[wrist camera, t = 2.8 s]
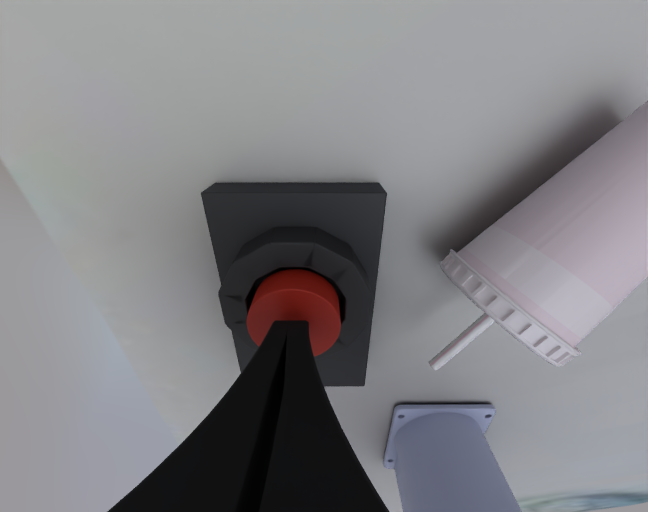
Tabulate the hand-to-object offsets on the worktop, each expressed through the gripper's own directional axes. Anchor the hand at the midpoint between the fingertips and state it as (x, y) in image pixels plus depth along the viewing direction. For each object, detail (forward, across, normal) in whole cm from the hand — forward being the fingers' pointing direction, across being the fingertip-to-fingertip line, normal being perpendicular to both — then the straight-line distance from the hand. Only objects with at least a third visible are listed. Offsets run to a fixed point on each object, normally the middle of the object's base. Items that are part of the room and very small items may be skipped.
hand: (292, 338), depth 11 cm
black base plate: (+5, 0, +2) cm, 6 cm away
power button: (+2, 0, 0) cm, 2 cm away
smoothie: (+3, -15, -8) cm, 17 cm away
